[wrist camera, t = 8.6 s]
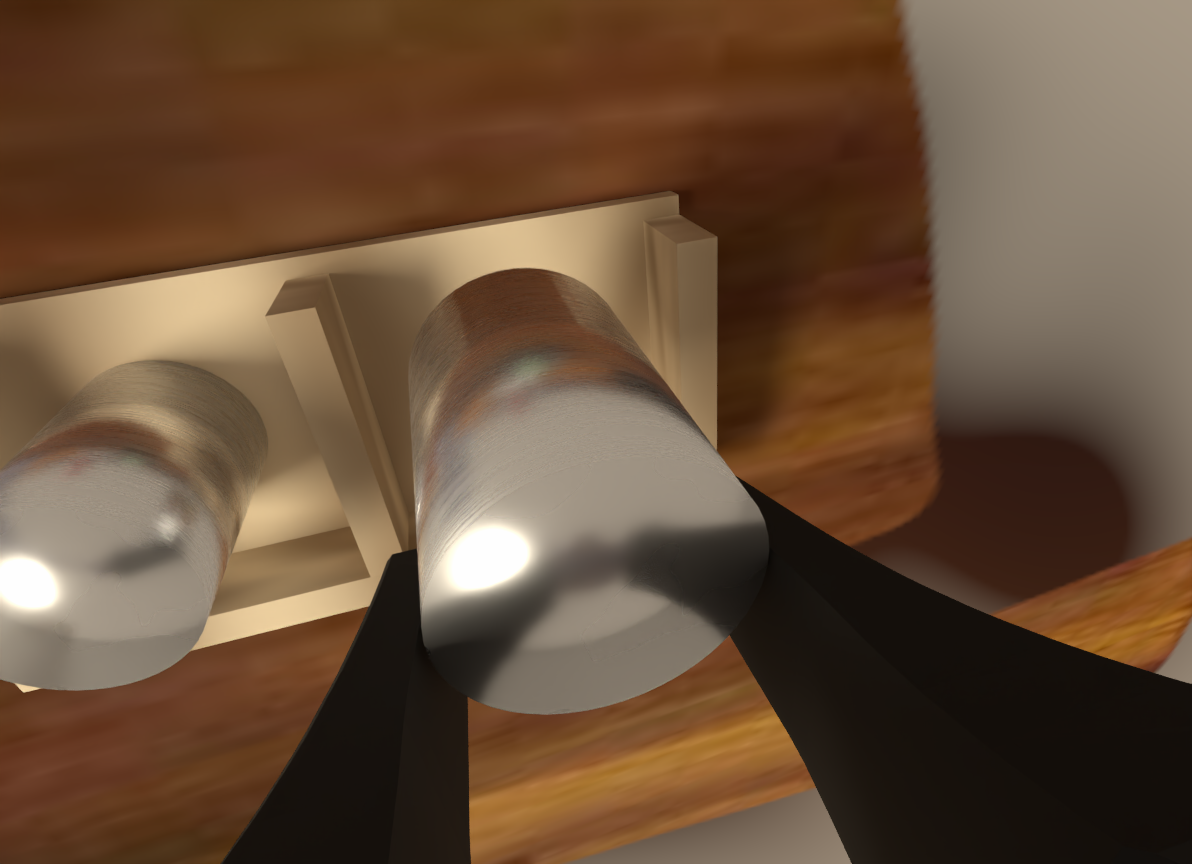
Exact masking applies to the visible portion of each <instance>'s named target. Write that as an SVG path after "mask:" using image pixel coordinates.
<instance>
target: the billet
mask: <svg viewBox="0 0 1192 864" xmlns="http://www.w3.org/2000/svg"><path fill="white" fill-rule="evenodd" d="M408 383H409V402H410V422H411V441H412V460H413V479H414V498H415V517H416V536H417V556H418V575H419V594H420V613H421V629H422V636H423V642H424V646H425V648H426V651H427V654H428V656H429V659H430V660H431V662H432V664H433V665H434V667H435V668H436V670H437V672H438V673H439V674H440V675H441V676H442V677H443V678H444V679H445V680H446V681H447V682H448V683H449V684H450V685H451V686H453V687H454V688H455V689H457V690H458V691H459V692H460V693H462V694H464V695H466V696H468V697H469V698H471V699H473V700H475V701H477V702H480V703H483V704H485V705H488V706H491V707H494V708H498V709H502V710H506V711H511V712H519V713H526V714H563V713H572V712H579V711H587V710H591V709H596V708H600V707H605V706H608V705H612V704H615V703H618V702H622V701H625V700H628V699H630V698H633V697H636V696H638V695H641V694H644V693H646V692H648V691H650V690H652V689H654V688H656V687H659V686H661V685H663V684H665V683H666V682H668V681H670V680H672V679H674V678H675V677H677V676H679V675H680V674H682V673H684V672H685V671H687V670H688V669H690V668H691V667H693V666H694V665H696V664H697V663H698V662H699V661H701V660H702V659H703V658H705V657H706V656H707V655H709V654H710V653H711V652H712V651H713V650H714V649H715V648H716V647H718V646H719V645H720V644H721V643H722V642H723V641H724V640H725V639H726V638H727V637H728V636H729V635H730V634H731V632H732V631H733V630H734V629H735V628H736V627H737V626H738V624H739V623H740V622H741V620H742V619H743V618H744V616H745V615H746V614H747V612H748V611H749V609H750V607H751V606H752V604H753V602H754V600H755V599H756V597H757V595H758V592H759V590H760V588H761V585H762V583H763V580H764V577H765V573H766V570H767V565H768V557H769V537H768V532H767V528H766V524H765V521H764V518H763V516H762V514H761V512H760V510H759V508H758V506H757V505H756V503H755V502H754V501H753V499H752V498H751V497H750V495H749V494H748V492H747V491H746V490H745V488H744V487H743V486H742V484H741V483H740V482H739V480H738V479H737V478H736V476H735V475H734V474H733V472H732V471H731V470H730V468H729V467H728V466H727V464H726V463H725V461H724V460H723V459H722V457H721V456H720V455H719V453H718V452H717V451H716V449H715V448H714V447H713V445H712V444H711V443H710V441H709V440H708V439H707V437H706V436H705V435H704V433H703V432H702V430H701V429H700V428H699V426H698V425H697V424H696V422H695V421H694V420H693V418H692V417H691V416H690V414H689V413H688V412H687V410H686V409H685V408H684V406H683V405H682V403H681V402H680V401H679V399H678V398H677V397H676V395H675V394H674V393H673V391H672V390H671V389H670V387H669V386H668V385H667V383H666V382H665V381H664V379H663V378H662V377H661V375H660V374H659V372H658V371H657V370H656V368H655V367H654V366H653V364H652V363H651V362H650V360H649V359H648V358H647V356H646V355H645V354H644V352H643V351H642V350H641V348H640V347H639V346H638V344H637V343H636V341H635V340H634V339H633V337H632V336H631V335H630V333H629V332H628V331H627V329H626V328H625V327H624V325H623V324H622V323H621V321H620V320H619V319H618V317H617V316H616V315H615V313H614V312H613V310H612V309H611V308H610V306H609V305H608V304H607V302H606V301H605V300H604V299H603V298H602V297H601V296H600V295H599V294H598V293H596V292H595V291H594V290H592V289H591V288H590V287H588V286H587V285H586V284H584V283H582V282H580V281H578V280H576V279H575V278H572V277H570V276H567V275H564V274H562V273H559V272H554V271H550V270H546V269H536V268H513V269H507V270H501V271H496V272H493V273H490V274H486V275H483V276H481V277H478V278H476V279H474V280H472V281H469V282H467V283H466V284H464V285H463V286H461V287H459V288H458V289H456V290H454V291H453V292H452V293H451V294H449V295H448V296H447V297H446V298H444V299H443V300H442V301H441V302H440V303H439V304H438V305H437V306H436V307H435V308H434V309H433V310H432V312H431V313H430V314H429V316H428V317H427V319H426V320H425V321H424V323H423V324H422V326H421V328H420V330H419V332H418V334H417V336H416V338H415V341H414V344H413V347H412V350H411V354H410V360H409V369H408Z"/></svg>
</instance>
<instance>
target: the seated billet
mask: <svg viewBox="0 0 1192 864" xmlns="http://www.w3.org/2000/svg"><path fill="white" fill-rule="evenodd" d="M267 453H268V437H267V432H266V428H265V425H264V423H263V420H262V418H261V416H260V415H259V413H258V411H257V410H256V408H255V407H254V406H253V404H252V403H251V402H250V401H249V400H248V398H247V397H246V396H245V395H244V394H243V393H242V392H240V391H239V390H238V389H237V388H236V387H234V386H233V385H231V384H230V383H228V382H227V381H226V380H224V379H222V378H220V377H218V376H217V375H215V374H213V373H211V372H208V371H206V370H203V369H201V368H198V367H195V366H191V365H188V364H183V363H178V362H173V361H162V360H144V361H136V362H130V363H126V364H122V365H118V366H116V367H113V368H110V369H108V370H106V371H104V372H102V373H101V374H99V375H97V376H96V377H95V378H93V379H92V380H91V381H89V382H88V383H87V384H86V385H85V386H84V387H83V388H82V389H81V390H80V391H79V392H78V393H77V394H76V395H75V396H74V397H73V398H72V399H71V400H70V401H69V402H68V403H67V404H66V405H65V406H64V407H63V408H62V409H61V410H60V411H59V412H58V413H57V414H56V415H55V416H54V417H53V418H52V419H51V420H50V421H49V422H48V423H47V424H46V425H45V426H44V427H43V428H42V429H41V430H40V431H39V432H38V433H37V434H36V435H35V436H34V437H33V438H32V439H31V440H30V441H29V442H28V443H27V444H26V445H25V446H24V447H23V448H22V449H21V450H20V451H19V452H18V453H17V454H16V455H15V456H14V457H13V458H12V459H11V460H10V461H9V462H8V463H7V464H6V465H5V466H4V467H3V468H2V469H1V470H0V679H1V680H4V681H8V682H12V683H16V684H20V685H25V686H31V687H37V688H45V689H55V690H93V689H102V688H110V687H116V686H120V685H125V684H130V683H133V682H136V681H139V680H143V679H145V678H148V677H150V676H153V675H155V674H158V673H160V672H161V671H163V670H165V669H167V668H169V667H171V666H172V665H173V664H175V663H176V662H178V661H179V660H181V659H182V658H183V657H184V656H185V655H186V654H187V653H188V652H189V651H190V650H191V649H192V648H193V647H194V645H195V644H196V643H197V642H198V640H199V638H200V636H201V635H202V633H203V631H204V628H205V625H206V622H207V620H208V617H209V614H210V612H211V609H212V606H213V603H214V601H215V598H216V595H217V592H218V590H219V587H220V584H221V582H222V579H223V576H224V573H225V571H226V568H227V565H228V562H229V560H230V557H231V554H232V552H233V549H234V546H235V543H236V541H237V538H238V535H239V532H240V530H241V527H242V524H243V522H244V519H245V516H246V513H247V511H248V508H249V505H250V502H251V500H252V497H253V494H254V492H255V489H256V486H257V483H258V481H259V478H260V475H261V472H262V470H263V467H264V464H265V461H266V458H267Z"/></svg>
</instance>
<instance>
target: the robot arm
mask: <svg viewBox="0 0 1192 864" xmlns="http://www.w3.org/2000/svg"><path fill="white" fill-rule="evenodd" d="M736 478H737V479H738V480H739V482H740V483H741V484H742V486H743V487H744V488H745V490H746V491H747V492H748V494H749V495H750V497H751V498H752V499H753V501H754V502H755V503H756V505H757V506H758V508H759V510H760V512H761V514H762V516H763V518H764V521H765V524H766V528H767V532H768V537H769V557H768V565H767V570H766V573H765V577H764V580H763V583H762V585H761V588H760V590H759V592H758V595H757V597H756V599H755V600H754V602H753V604H752V606H751V607H750V609H749V611H748V612H747V614H746V615H745V616H744V618H743V619H742V620H741V622H740V623H739V624H738V626H737V627H736V628H735V629H734V630H733V631H732V632H731V634H730V636H731V638H732V640H733V642H734V643H735V645H736V647H737V648H738V650H739V652H740V653H741V655H742V657H743V659H744V660H745V662H746V664H747V665H748V667H749V669H750V670H751V672H752V674H753V675H754V677H755V679H756V680H757V682H758V684H759V685H760V687H761V689H762V690H763V692H764V694H765V695H766V697H767V699H768V700H769V702H770V704H771V705H772V707H773V709H774V710H775V712H776V714H777V715H778V717H779V719H780V720H781V722H782V724H783V725H784V727H785V729H786V730H787V732H788V734H789V735H790V737H791V739H792V741H793V743H794V745H795V746H796V748H797V750H798V752H799V754H800V756H801V757H802V759H803V761H804V763H805V765H806V767H807V769H808V771H809V773H810V775H811V777H812V780H813V782H814V784H815V786H816V788H817V790H818V792H819V794H820V796H821V798H822V800H823V803H824V805H825V807H826V809H827V811H828V813H829V815H830V817H831V819H832V821H833V823H834V826H835V828H836V830H837V832H838V834H839V837H840V839H841V841H842V843H843V845H844V848H845V850H846V852H847V854H848V856H849V858H850V860H851V863H852V864H1192V684H1189V683H1185V682H1182V681H1179V680H1175V679H1172V678H1168V677H1165V676H1162V675H1159V674H1156V673H1152V672H1149V671H1146V670H1143V669H1140V668H1137V667H1133V666H1130V665H1127V664H1124V663H1121V662H1118V661H1114V660H1111V659H1108V658H1105V657H1102V656H1099V655H1096V654H1093V653H1090V652H1087V651H1084V650H1081V649H1079V648H1076V647H1073V646H1070V645H1067V644H1064V643H1061V642H1058V641H1056V640H1053V639H1050V638H1048V637H1045V636H1043V635H1040V634H1037V633H1035V632H1032V631H1029V630H1027V629H1024V628H1022V627H1019V626H1016V625H1014V624H1011V623H1008V622H1006V621H1003V620H1001V619H998V618H996V617H993V616H991V615H989V614H986V613H984V612H981V611H979V610H977V609H974V608H972V607H970V606H967V605H965V604H963V603H961V602H959V601H956V600H954V599H952V598H950V597H948V596H945V595H943V594H941V593H939V592H936V591H934V590H932V589H930V588H928V587H925V586H923V585H921V584H919V583H917V582H915V581H913V580H911V579H909V578H907V577H905V576H903V575H901V574H899V573H897V572H895V571H893V570H891V569H890V568H888V567H886V566H884V565H882V564H880V563H878V562H877V561H875V560H873V559H871V558H869V557H867V556H865V555H863V554H862V553H860V552H858V551H856V550H855V549H853V548H851V547H849V546H847V545H846V544H844V543H842V542H840V541H839V540H837V539H835V538H834V537H832V536H830V535H829V534H827V533H825V532H824V531H822V530H820V529H819V528H817V527H815V526H814V525H812V524H810V523H809V522H807V521H806V520H804V519H802V518H801V517H799V516H798V515H796V514H794V513H793V512H791V511H790V510H788V509H786V508H785V507H783V506H782V505H780V504H779V503H777V502H776V501H774V500H772V499H771V498H769V497H768V496H766V495H765V494H763V493H762V492H760V491H759V490H757V489H755V488H754V487H752V486H751V485H749V484H748V483H746V482H745V481H743V480H741V479H740V478H738V477H737V476H736ZM221 864H471V856H470V836H469V762H468V702H467V696H466V695H464V694H462V693H460V692H459V691H458V690H457V689H455V688H454V687H453V686H451V685H450V684H449V683H448V682H447V681H446V680H445V679H444V678H443V677H442V676H441V675H440V674H439V673H438V672H437V670H436V668H435V667H434V665H433V664H432V662H431V660H430V659H429V656H428V654H427V651H426V648H425V646H424V642H423V636H422V629H421V613H420V594H419V575H418V556H417V548H416V549H412V550H408V551H404V552H400V553H395V554H392V555H391V557H390V558H389V559H388V561H387V563H386V566H385V568H384V571H383V574H382V576H381V579H380V581H379V584H378V586H377V589H376V591H375V594H374V596H373V598H372V601H371V603H370V606H369V608H368V610H367V612H366V615H365V617H364V619H363V622H362V624H361V626H360V628H359V630H358V632H357V635H356V637H355V639H354V641H353V643H352V645H351V647H350V649H349V651H348V653H347V655H346V658H345V660H344V662H343V664H342V666H341V668H340V670H339V672H338V674H337V676H336V678H335V680H334V682H333V684H332V685H331V687H330V689H329V691H328V693H327V695H326V697H325V698H324V700H323V702H322V704H321V706H320V708H319V709H318V711H317V713H316V715H315V717H314V719H313V720H312V722H311V724H310V726H309V728H308V730H307V731H306V733H305V735H304V737H303V738H302V740H301V742H300V743H299V745H298V747H297V748H296V750H295V752H294V753H293V755H292V757H291V759H290V760H289V762H288V763H287V765H286V767H285V768H284V770H283V772H282V773H281V775H280V776H279V778H278V780H277V781H276V783H275V784H274V786H273V787H272V789H271V790H270V792H269V794H268V795H267V797H266V798H265V800H264V801H263V803H262V804H261V806H260V808H259V809H258V811H257V812H256V814H255V815H254V817H253V818H252V819H251V821H250V822H249V824H248V825H247V827H246V828H245V829H244V831H243V832H242V834H241V835H240V837H239V838H238V840H237V841H236V842H235V844H234V845H233V847H232V848H231V850H230V851H229V852H228V854H227V855H226V857H225V858H224V860H223V861H222V863H221Z"/></svg>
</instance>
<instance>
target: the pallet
mask: <svg viewBox="0 0 1192 864" xmlns="http://www.w3.org/2000/svg"><path fill="white" fill-rule="evenodd" d="M717 254H718V237H717V236H715V235H714V234H712V233H710V232H708V231H707V230H705V229H703V228H702V227H700V226H698V225H696V224H695V223H693V222H691V221H690V220H688V219H686V218H684V217H683V216H681V215H679V195H678V194H676V193H674V192H672V191H666V192H660V193H654V194H647V195H641V196H635V197H629V198H623V199H616V200H610V201H604V202H598V203H592V204H585V205H579V206H573V207H567V208H561V209H554V210H548V211H542V212H536V213H530V214H523V215H517V216H511V217H505V218H499V219H492V220H486V221H480V222H474V223H468V224H461V225H455V226H449V227H443V228H437V229H430V230H424V231H418V232H412V233H406V234H399V235H393V236H387V237H381V238H375V239H368V240H362V241H356V242H350V243H344V244H337V245H331V246H325V247H319V248H313V249H306V250H300V251H294V252H288V253H282V254H275V255H269V256H263V257H257V258H251V259H244V260H238V261H232V262H226V263H220V264H213V265H207V266H201V267H195V268H189V269H182V270H176V271H170V272H164V273H158V274H151V275H145V276H139V277H133V278H127V279H120V280H114V281H108V282H102V283H96V284H89V285H83V286H77V287H71V288H65V289H58V290H52V291H46V292H40V293H34V294H27V295H21V296H15V297H9V298H3V299H0V470H1V469H2V468H3V467H4V466H5V465H6V464H7V463H8V462H9V461H10V460H11V459H12V458H13V457H14V456H15V455H16V454H17V453H18V452H19V451H20V450H21V449H22V448H23V447H24V446H25V445H26V444H27V443H28V442H29V441H30V440H31V439H32V438H33V437H34V436H35V435H36V434H37V433H38V432H39V431H40V430H41V429H42V428H43V427H44V426H45V425H46V424H47V423H48V422H49V421H50V420H51V419H52V418H53V417H54V416H55V415H56V414H57V413H58V412H59V411H60V410H61V409H62V408H63V407H64V406H65V405H66V404H67V403H68V402H69V401H70V400H71V399H72V398H73V397H74V396H75V395H76V394H77V393H78V392H79V391H80V390H81V389H82V388H83V387H84V386H85V385H86V384H87V383H88V382H89V381H91V380H92V379H93V378H95V377H96V376H97V375H99V374H101V373H102V372H104V371H106V370H108V369H110V368H113V367H116V366H118V365H122V364H126V363H130V362H136V361H144V360H162V361H173V362H178V363H183V364H188V365H191V366H195V367H198V368H201V369H203V370H206V371H208V372H211V373H213V374H215V375H217V376H218V377H220V378H222V379H224V380H226V381H227V382H228V383H230V384H231V385H233V386H234V387H236V388H237V389H238V390H239V391H240V392H242V393H243V394H244V395H245V396H246V397H247V398H248V400H249V401H250V402H251V403H252V404H253V406H254V407H255V408H256V410H257V411H258V413H259V415H260V416H261V418H262V420H263V423H264V425H265V428H266V432H267V437H268V453H267V458H266V461H265V464H264V467H263V470H262V472H261V475H260V478H259V481H258V483H257V486H256V489H255V492H254V494H253V497H252V500H251V502H250V505H249V508H248V511H247V513H246V516H245V519H244V522H243V524H242V527H241V530H240V532H239V535H238V538H237V541H236V543H235V546H234V549H233V552H232V554H231V557H230V560H229V562H228V565H227V568H226V571H225V573H224V576H223V579H222V582H221V584H220V587H219V590H218V592H217V595H216V598H215V601H214V603H213V606H212V609H211V612H210V614H209V617H208V620H207V622H206V625H205V628H204V631H203V633H202V635H201V636H200V638H199V640H198V642H197V643H196V644H195V645H194V647H193V648H192V649H191V650H190V651H192V650H196V649H200V648H204V647H208V646H212V645H216V644H220V643H224V642H228V641H232V640H236V639H240V638H243V637H247V636H251V635H255V634H259V633H263V632H267V631H271V630H275V629H279V628H283V627H287V626H291V625H295V624H299V623H303V622H307V621H311V620H315V619H319V618H323V617H327V616H331V615H335V614H339V613H343V612H347V611H351V610H355V609H359V608H363V607H367V606H370V603H371V601H372V598H373V596H374V594H375V591H376V589H377V586H378V584H379V581H380V579H381V576H382V574H383V571H384V568H385V566H386V563H387V561H388V559H389V558H390V557H391V555H392V554H395V553H400V552H404V551H408V550H412V549H416V548H417V536H416V517H415V498H414V479H413V460H412V441H411V422H410V402H409V383H408V369H409V360H410V354H411V350H412V347H413V344H414V341H415V338H416V336H417V334H418V332H419V330H420V328H421V326H422V324H423V323H424V321H425V320H426V319H427V317H428V316H429V314H430V313H431V312H432V310H433V309H434V308H435V307H436V306H437V305H438V304H439V303H440V302H441V301H442V300H443V299H444V298H446V297H447V296H448V295H449V294H451V293H452V292H453V291H454V290H456V289H458V288H459V287H461V286H463V285H464V284H466V283H467V282H469V281H472V280H474V279H476V278H478V277H481V276H483V275H486V274H490V273H493V272H496V271H501V270H507V269H513V268H536V269H546V270H550V271H554V272H559V273H562V274H564V275H567V276H570V277H572V278H575V279H576V280H578V281H580V282H582V283H584V284H586V285H587V286H588V287H590V288H591V289H592V290H594V291H595V292H596V293H598V294H599V295H600V296H601V297H602V298H603V299H604V300H605V301H606V302H607V304H608V305H609V306H610V308H611V309H612V310H613V312H614V313H615V315H616V316H617V317H618V319H619V320H620V321H621V323H622V324H623V325H624V327H625V328H626V329H627V331H628V332H629V333H630V335H631V336H632V337H633V339H634V340H635V341H636V343H637V344H638V346H639V347H640V348H641V350H642V351H643V352H644V354H645V355H646V356H647V358H648V359H649V360H650V362H651V363H652V364H653V366H654V367H655V368H656V370H657V371H658V372H659V374H660V375H661V377H662V378H663V379H664V381H665V382H666V383H667V385H668V386H669V387H670V389H671V390H672V391H673V393H674V394H675V395H676V397H677V398H678V399H679V401H680V402H681V403H682V405H683V406H684V408H685V409H686V410H687V412H688V413H689V414H690V416H691V417H692V418H693V420H694V421H695V422H696V424H697V425H698V426H699V428H700V429H701V430H702V432H703V433H704V435H705V436H706V437H707V439H708V440H709V441H710V443H711V444H712V445H713V447H714V448H715V449H716V451H717ZM15 684H16V683H15ZM16 685H17V686H18V687H19V688H20V689H21V690H22V692H23V693H24V692H28V691H32V690H36V689H40V688H37V687H31V686H25V685H20V684H16Z"/></svg>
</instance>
